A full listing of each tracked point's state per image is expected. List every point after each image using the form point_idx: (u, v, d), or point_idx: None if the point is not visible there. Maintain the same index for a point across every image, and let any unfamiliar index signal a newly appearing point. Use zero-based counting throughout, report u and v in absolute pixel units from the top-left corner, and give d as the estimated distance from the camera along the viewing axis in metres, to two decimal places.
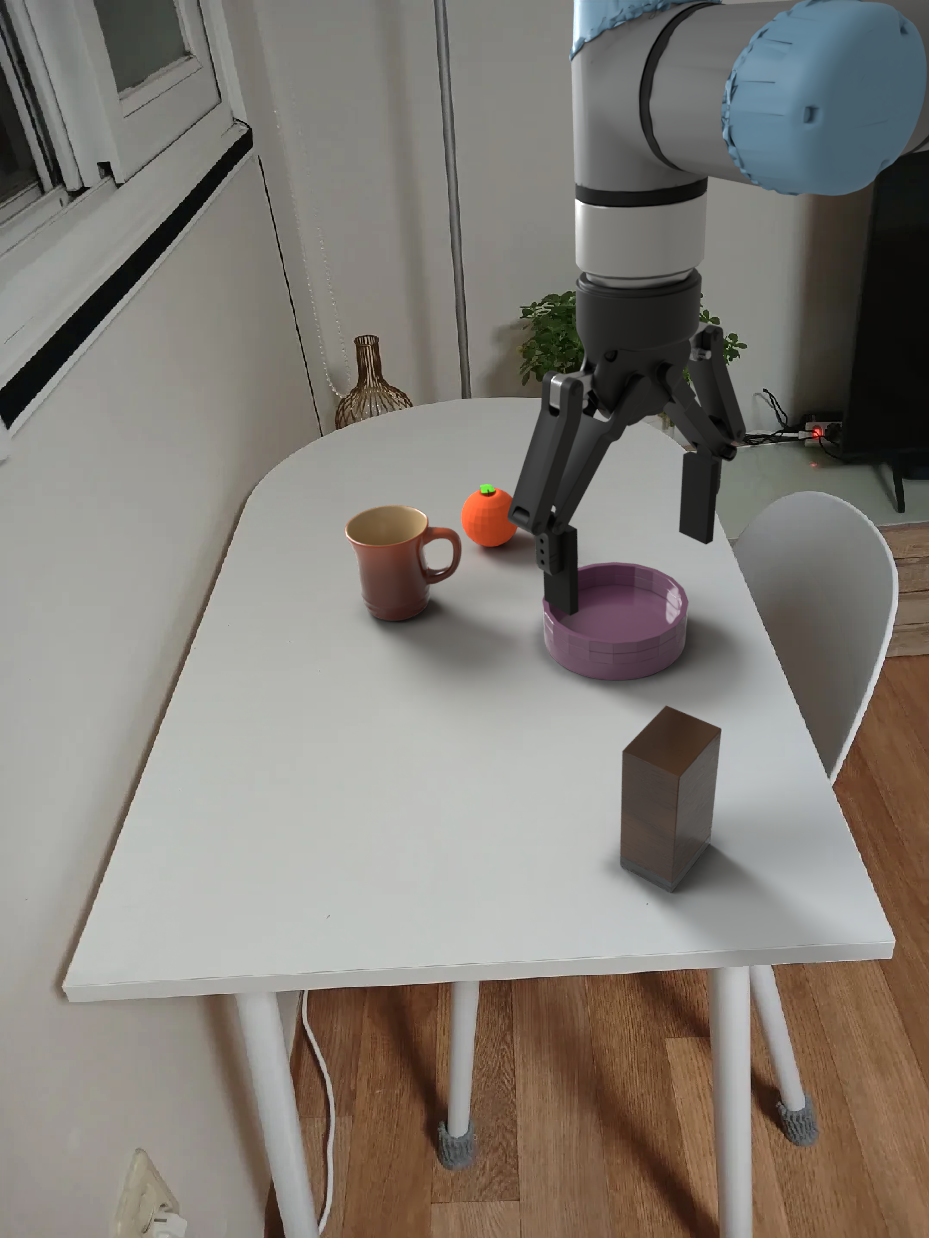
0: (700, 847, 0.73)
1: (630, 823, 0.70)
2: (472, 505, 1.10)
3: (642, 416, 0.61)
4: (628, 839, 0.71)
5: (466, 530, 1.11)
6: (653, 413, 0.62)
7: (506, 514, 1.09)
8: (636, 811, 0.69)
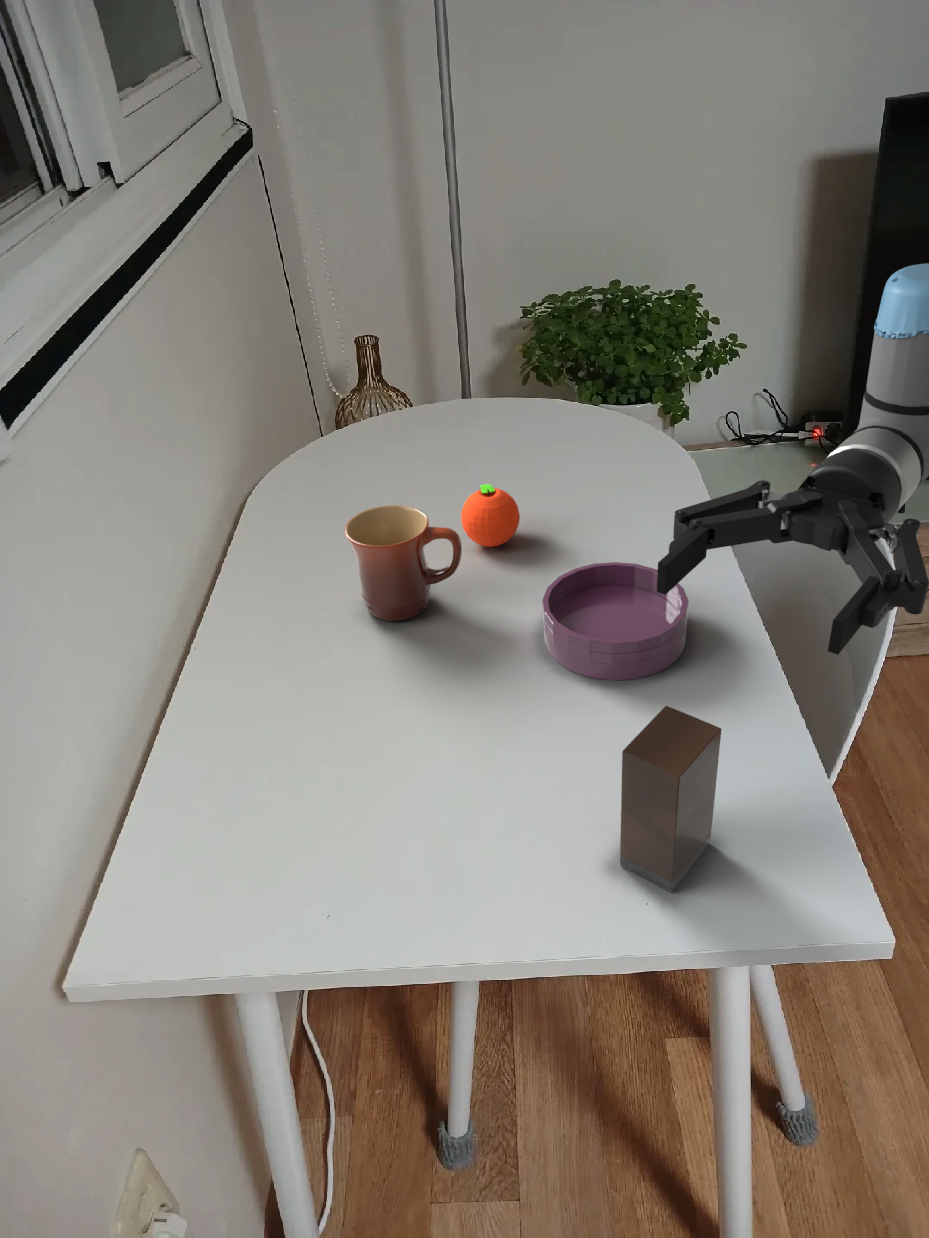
0: (700, 847, 0.73)
1: (630, 823, 0.70)
2: (472, 505, 1.10)
3: (812, 521, 0.76)
4: (628, 839, 0.71)
5: (466, 530, 1.11)
6: (823, 525, 0.76)
7: (506, 514, 1.09)
8: (636, 811, 0.69)
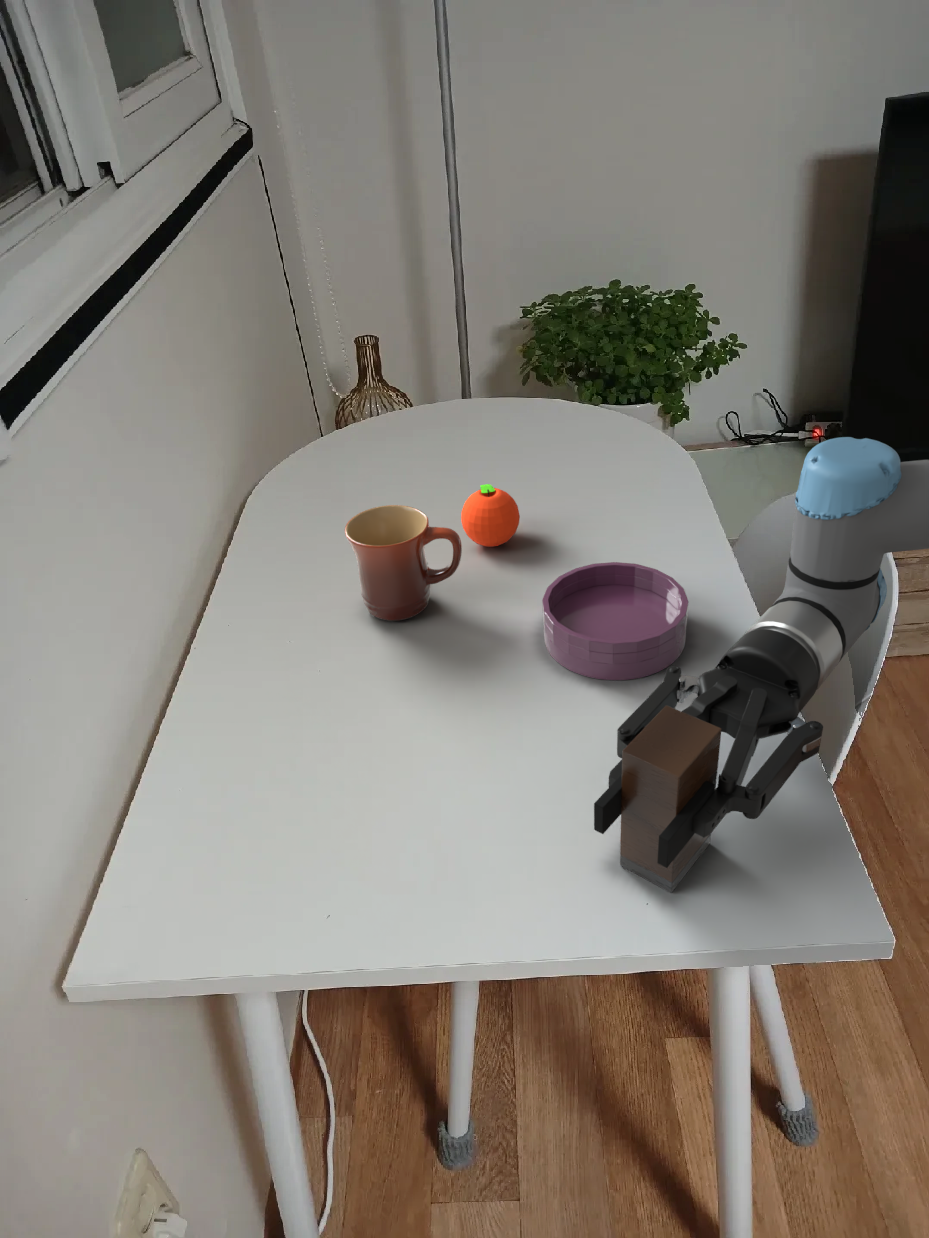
0: (700, 847, 0.73)
1: (630, 823, 0.70)
2: (472, 505, 1.10)
3: (724, 711, 0.75)
4: (628, 839, 0.71)
5: (466, 530, 1.11)
6: (735, 717, 0.74)
7: (506, 514, 1.09)
8: (636, 811, 0.69)
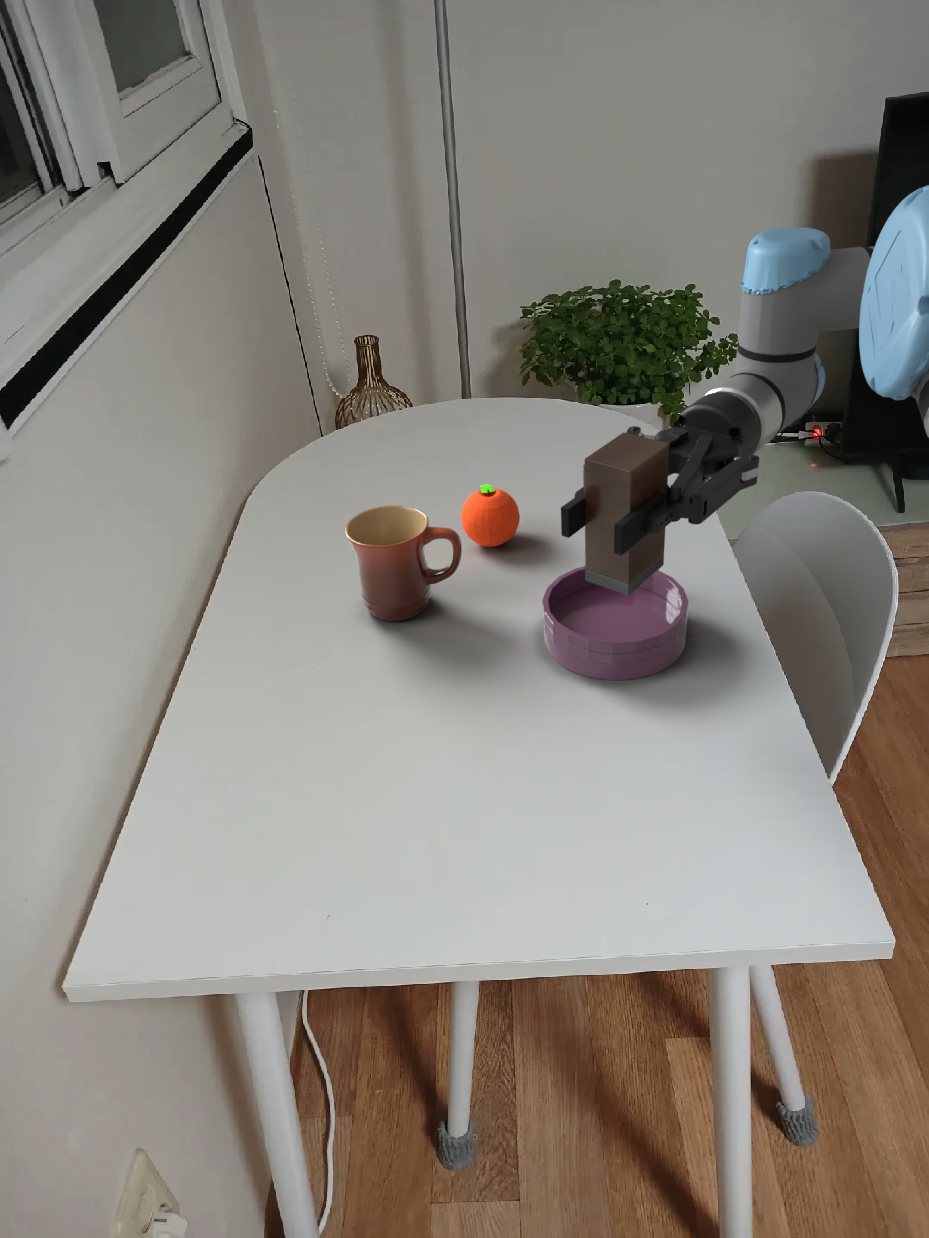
0: (654, 563, 0.85)
1: (592, 532, 0.82)
2: (472, 505, 1.10)
3: (676, 452, 0.87)
4: (592, 550, 0.83)
5: (466, 530, 1.11)
6: (685, 455, 0.86)
7: (506, 514, 1.09)
8: (597, 519, 0.80)
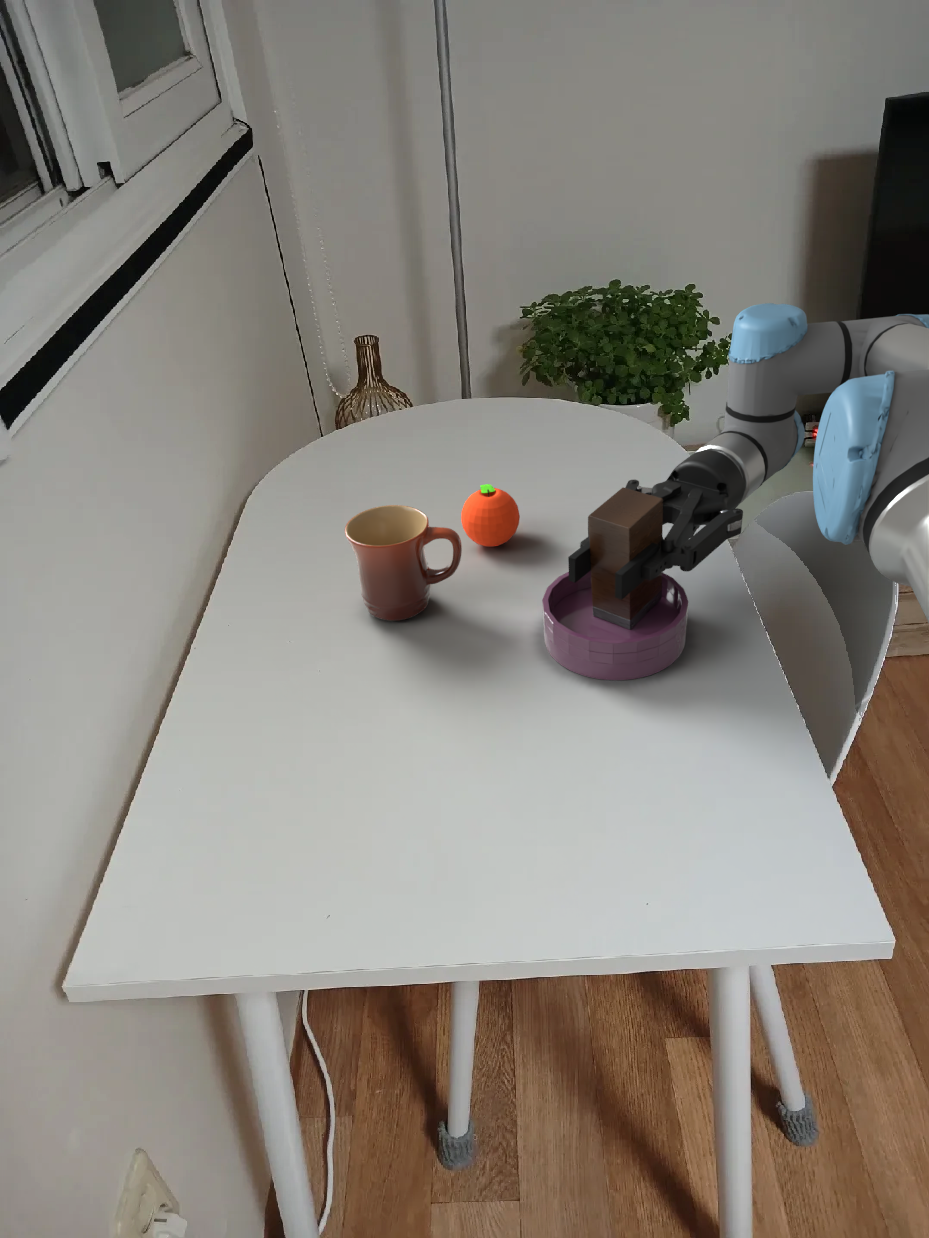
0: (653, 599, 0.96)
1: (597, 576, 0.93)
2: (472, 505, 1.10)
3: (670, 505, 0.98)
4: (597, 591, 0.94)
5: (466, 530, 1.11)
6: (678, 508, 0.97)
7: (506, 514, 1.09)
8: (601, 565, 0.92)
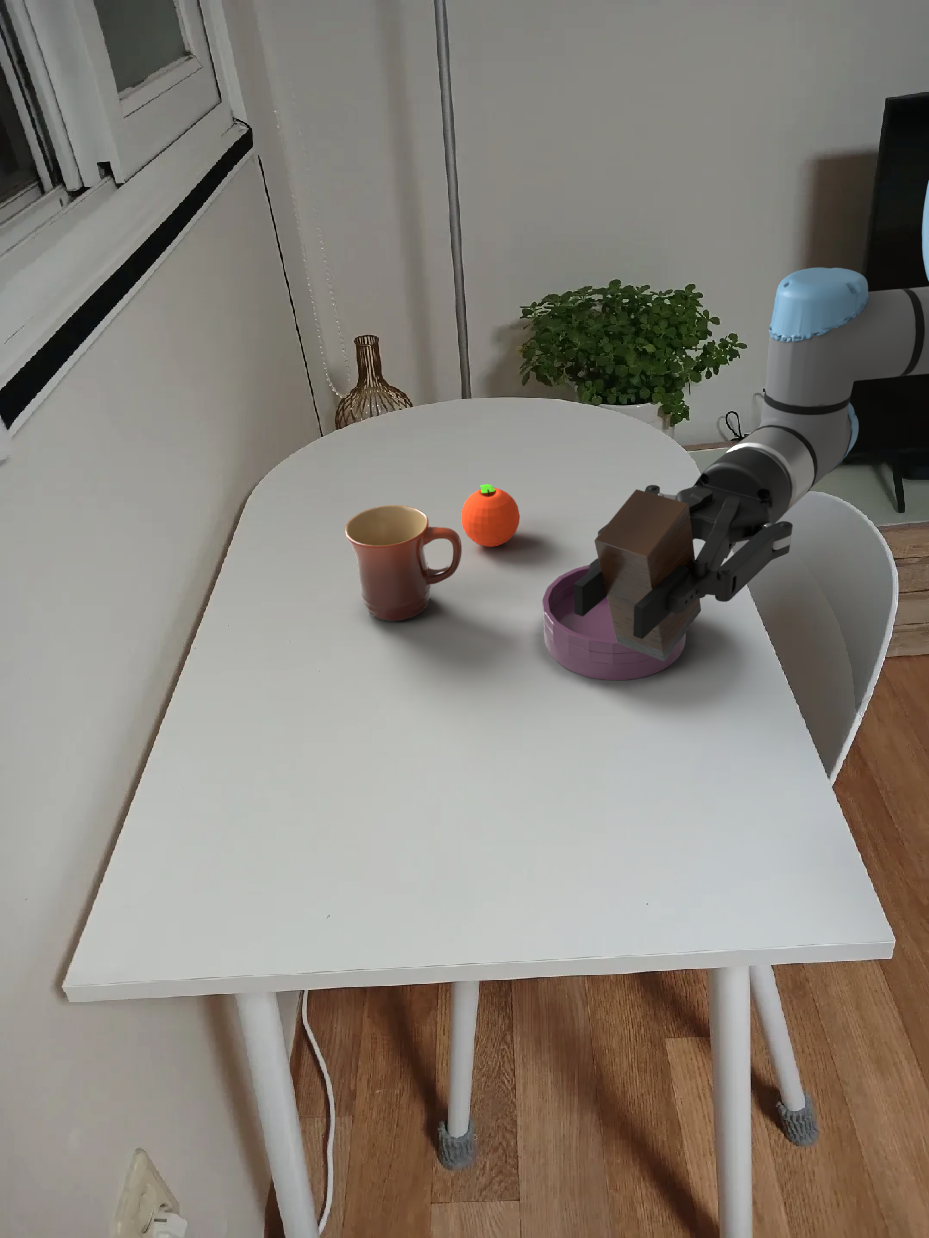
0: (690, 616, 0.77)
1: (616, 604, 0.74)
2: (472, 504, 1.10)
3: (700, 517, 0.79)
4: (619, 619, 0.76)
5: (466, 530, 1.11)
6: (710, 521, 0.78)
7: (506, 514, 1.09)
8: (619, 593, 0.73)
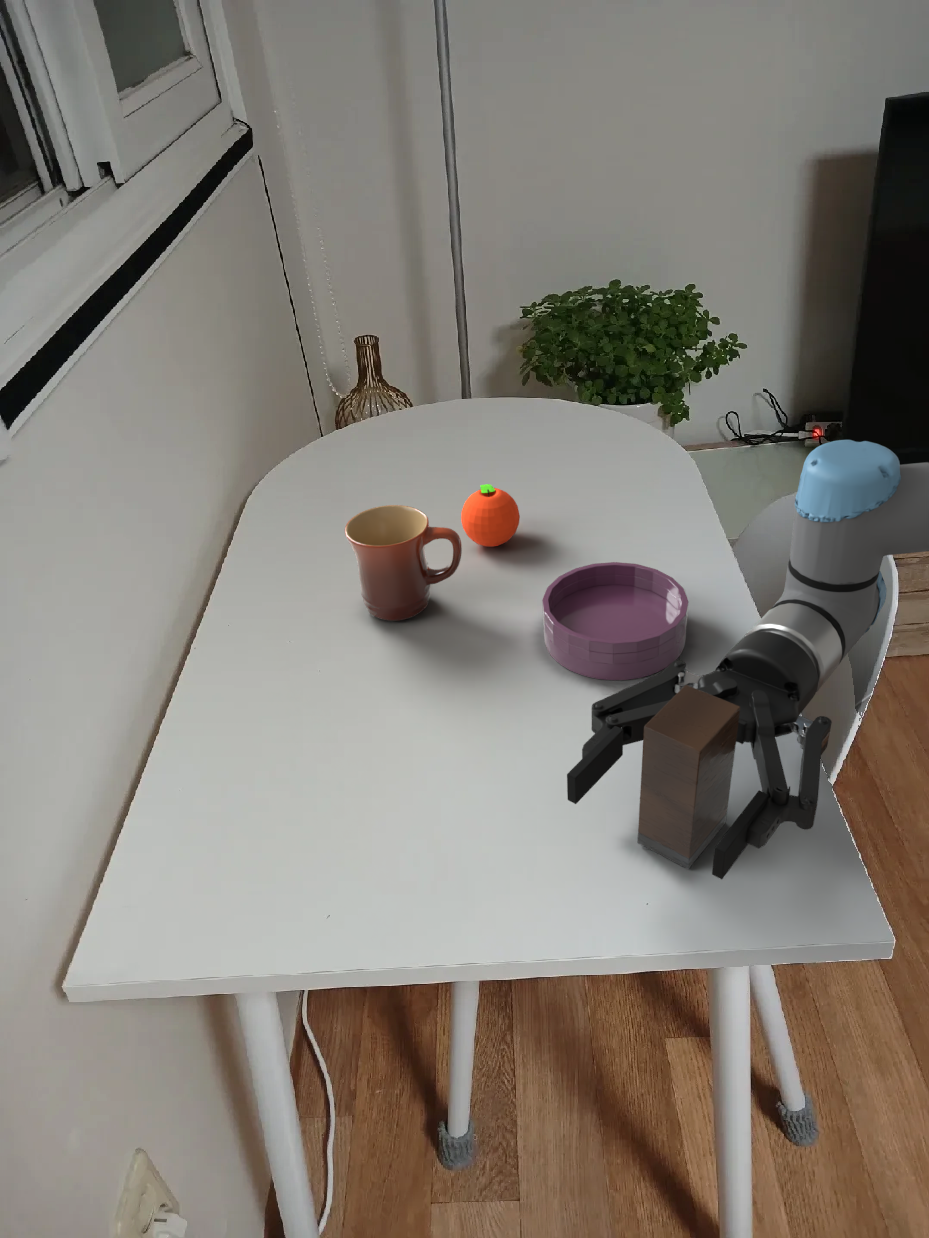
0: (716, 826, 0.74)
1: (649, 799, 0.71)
2: (472, 505, 1.10)
3: None
4: (647, 816, 0.72)
5: (466, 530, 1.11)
6: None
7: (506, 514, 1.09)
8: (655, 787, 0.70)
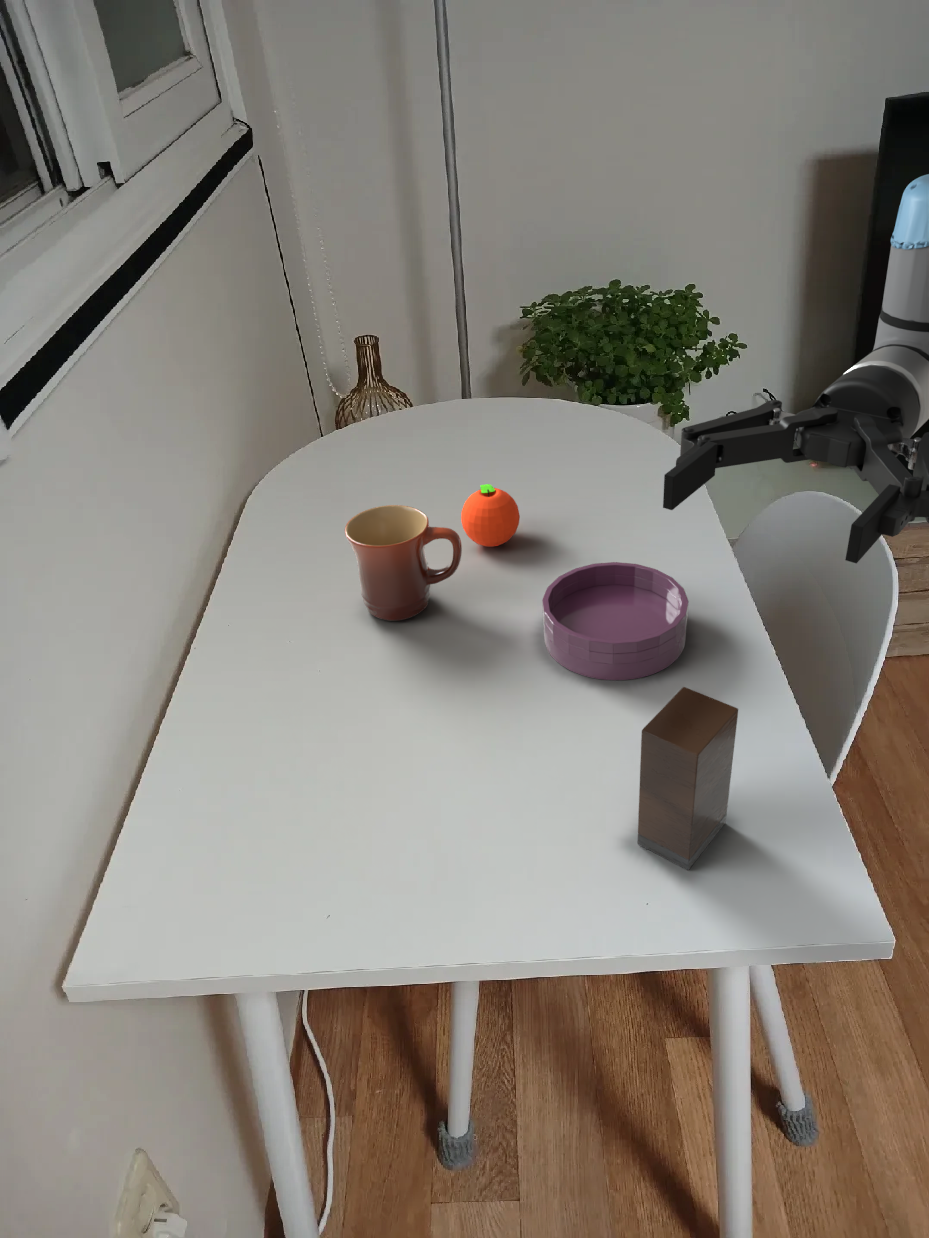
0: (716, 826, 0.74)
1: (648, 801, 0.71)
2: (472, 505, 1.10)
3: (826, 436, 0.72)
4: (646, 818, 0.72)
5: (466, 530, 1.11)
6: (838, 440, 0.72)
7: (506, 514, 1.09)
8: (654, 790, 0.70)
